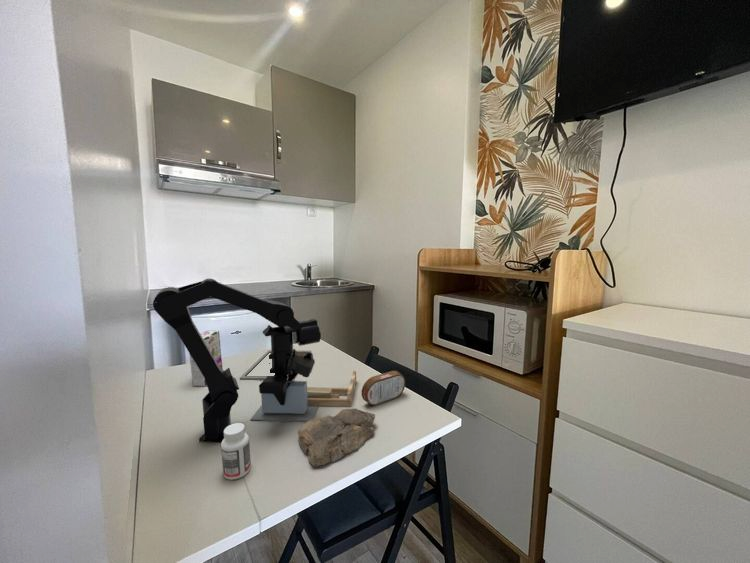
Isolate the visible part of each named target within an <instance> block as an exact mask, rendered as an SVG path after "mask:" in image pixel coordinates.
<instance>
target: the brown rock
mask: <svg viewBox="0 0 750 563" xmlns="http://www.w3.org/2000/svg"><path fill="white" fill-rule="evenodd" d="M375 420H376V414H375V413H371V412H368V411H362V410H360V409H358V408H344V409H341V410H340V411H339V412H338V413H337V414H335V415H334V416H332V415H326V416H322V417H321V416H320V417H314V418H313V419H311V420H309V421H307V422H304V424H302V425H300V427H299V429H298V430H297V434H298V444H299V446H300V448H301V450H302V452H303V453H304V454H305V455H308V458H307V459H308V462H309V463H310V464H311V466H312V467H313V468H318V466H320V467H321V466H325V465H327V464H326V463H328V464H331V463H332V464H333V463H334V462H336V461H338V460H340V459H343V458H344V455H348V454H350V453H353V452H355V451H358V450H360V449H361V448H362V447H363V446H364V443H365V442H367V441H368V440H369V439H370V438H371V437H372V436H373V435H374V432H375V428H374V427H373V424H374V422H375Z"/></svg>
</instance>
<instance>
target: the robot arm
mask: <svg viewBox="0 0 750 563" xmlns="http://www.w3.org/2000/svg"><path fill="white" fill-rule="evenodd" d="M208 298H214V299H217V300H219V301H221V302H224V303H227V304H230V305H233V306H236V307H239V308H241V309H244V310H247V311H250V312H252V313H255V314H257V315H259V316H261V317H262V318H264V319H265V320H267V321H268V322H270V323H272V324H274V325H275V327H272V325H270V324H268V325H267V327H266V328H264V330H263V331H262V334H263V335H264V336H265V337H270V346H271V347H270V348H271V352H272V353H271V354H270V355H269V359H272V368H271V369H270V373H275V375H274V376H267V377H266V378H265V379H264V380H263V381H262V382H261V383H260V384H259V385H258V392H259V394H274V396H275V397H276V399H277V400H278V402H279V404H280V405H285V399H286V390H287V388H288V387H289V386H290V384H291V383H292V382H288V381H293V379H294V378H295V377H297V376H298V375H299V376H302V377H303V378H309V377H310V375H311V373H312V371H313V369H314V365H315V363H316V362H315V359H314V355H313V353H312V352H311V353H310V352H308V353H306V354H305V355H304V356H303V355H301V356H299V355H297V352H296V351H297V350H296V349H295V348H294V343H295V344H296V343H297V344H298V346H300V347H301V346H305V345H311V344H316V343H320V341H321V337H322V335H321V334H322V333H321V330H320V327H319V325H318V320H317V319H315V318H312V319H309V320H302V321H299V320H297V319H296V318H295V312H294V310H293V308H292V307H290V306H288V304H286V303H284V302H281V301H275V300H271V299H266V298H265V299H263V298H259V297H257V296H254V295H252V294H249V293H247V292H244V291H241V290H239V289H237V288H234V287H232V286H229V285H227V284H223V283H222V282H219V281H217V280H216V279H213V278H205V279H203V280H201V281H198V282H195V283H190V284H187V285H183V286H180V287H174V286H168V287H164V288H162V289H161V290H159V291H158V292H157V294H156V295H155V297H154V300H153V302H152V306H153V309H154V311H155V312H156V314H157V315H159V317H160V318H161V319H162V320H163V321H164V322H165V323H166V324H167V325H169V326H170V327H171V329H173V330H174V331H175V332H176V333H177V335H178V337H179V339H180V340H181V342H182V343H183V345H184V346H185V348H186V350H187V352H188V353H190V354H189V356H190V355H191V357H192V358H193V360H194V362H195V363H196V365H197V366H198V368H199V370H200V371H201V373H202V375H203V376H204V378H205V380H206V383H207V386H206V387H207V389H208V393H207V394H206V395H205V396H204V397H203V398H202V400H201V402H202V411H203V417H202V419H203V421H202V422H203V431H204V432H203V434H202V435H201V436H200V437H199V438H198V442H210V443H211V442H212V443H213V442H214V443H222V441H223V439H224V429H225V428H226V427H228V426H229V425H231V424H232V422H231V411H232V407H233V406H234V405H235V404H236V403H237V400H238V399H239V393H238V392H239V390H240V387H239V384H238V381H237V378H236V377H234V376H233V375H232V372H231V368H230V367H227V368H226V369H225V370H224V369H223V368H222V369H221V368H220V367H219V365H218V364H217V362H216V360H215V359H214V357H213V355H212V353H211V352H210V350H209V348H208V347H207V345H206V343H205V341H204V340H203V338H202V336H201V334H202V333H200V331H199V330H198V328H197V326H196V325H195V323H194V321H193V317H192V316H191V312H190V308H189V307H190V306H193V305H194V304H197V303H199V302H201V301H203V300H206V299H208ZM295 350H296V351H295ZM295 379H296V378H295ZM295 379H294V380H295Z"/></svg>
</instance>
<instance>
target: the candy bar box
mask: <svg viewBox="0 0 750 563" xmlns="http://www.w3.org/2000/svg"><path fill="white" fill-rule="evenodd" d="M200 334H201V336H202V338H203V340H204V341H205V343H206V345H207V347H208V348H209V350H210V352H211V353H212V355H213V357H214V359H215V360H216V362H217V364H218V365H219V367H220V368H221V369H223V360H222V350H221V338H220V337H221V336H220V330H205V331H203V332H202V333H200ZM188 353H189V352H188ZM188 355H189V360H190V369H191V378H192V379H191V380H192V387H207V383H206V380H205V378H204V376H203V375H202V373H201V371H200V370H199V368H198V366H197V365H196V363H195V362H194V360H193V358H192V357H191V355H190V353H189V354H188Z"/></svg>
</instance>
